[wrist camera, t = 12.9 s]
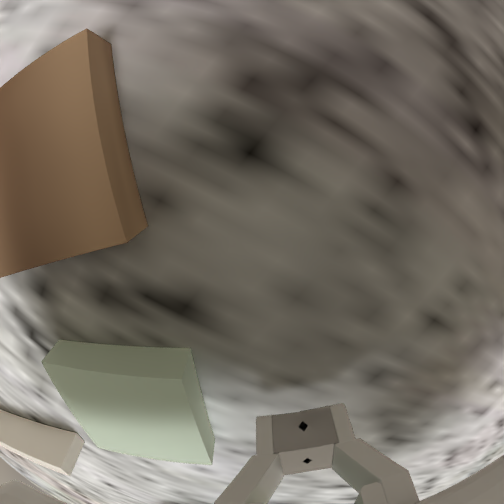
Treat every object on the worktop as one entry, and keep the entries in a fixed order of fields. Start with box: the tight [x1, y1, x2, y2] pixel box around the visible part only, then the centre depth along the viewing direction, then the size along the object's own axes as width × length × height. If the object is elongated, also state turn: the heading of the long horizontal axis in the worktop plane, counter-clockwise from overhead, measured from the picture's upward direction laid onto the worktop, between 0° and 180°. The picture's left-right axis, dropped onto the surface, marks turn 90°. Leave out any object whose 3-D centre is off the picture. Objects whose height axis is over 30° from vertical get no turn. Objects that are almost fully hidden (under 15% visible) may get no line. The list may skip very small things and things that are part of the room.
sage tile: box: [42, 339, 215, 465], centre depth 10 cm, size 6×6×2 cm
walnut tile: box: [0, 29, 148, 278], centre depth 7 cm, size 6×6×2 cm
